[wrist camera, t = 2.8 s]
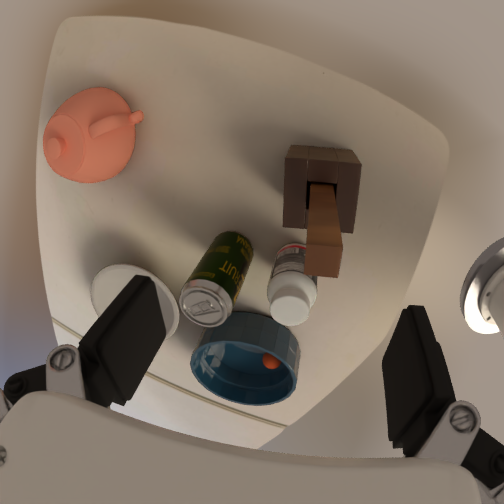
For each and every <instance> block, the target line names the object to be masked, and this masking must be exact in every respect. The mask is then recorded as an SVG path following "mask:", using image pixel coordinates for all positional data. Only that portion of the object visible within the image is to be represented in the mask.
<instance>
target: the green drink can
mask: <svg viewBox="0 0 504 504" xmlns="http://www.w3.org/2000/svg"><path fill="white" fill-rule="evenodd" d="M252 258H253V248H252V245H251V243H250V241H249V240H248V239H247V237H246V236H244V235H243V234H241V233H238V232H235V231H228V232H224V233H221V234H219V235H218V236H217V237H216V238H215V239H214V241H213V242H212V244H211V245H210V247H209V248H208V250H207V251H206V253H205V254H204V256H203V257H202V259H201V260H200V262H199V263H198V265H197V266H196V268H195V269H194V271H193V273H192V274H191V276H190V277H189V279H188V280H187V282H186V283H185V285H184V286H183V288H182V290H181V296H180V298H179V305H180V309H181V310H182V312H183V314H184V315H185V316H186V317H187V318H188V319H189V320H191V321H192V322H194V323H195V324H198V325H201V326H204V327H216V326H219V325H221V324H223V322H224V321H225V320H226V319H227V318H228V317H229V315H230V314H231V312H232V310H233V307H234V305H235V302H236V299H237V297H238V294H239V292H240V289H241V287H242V284H243V282H244V279H245V276H246V274H247V271H248V269H249V266H250V264H251V261H252Z"/></svg>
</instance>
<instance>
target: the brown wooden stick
mask: <svg viewBox="0 0 504 504" xmlns="http://www.w3.org/2000/svg"><path fill="white" fill-rule="evenodd" d="M342 251H343V244H342V237H341V231H340V224H339V218H338V212H337V206H336V200H335V194H334V189H333V183H324V182H313V181H311V185H310V201H309V215H308V228H307V240H306V252H305V263H304V273H303V274H304V275H312V276H322V277H333V278H338V275H339V269H340V263H341V257H342Z"/></svg>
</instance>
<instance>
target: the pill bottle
mask: <svg viewBox="0 0 504 504" xmlns="http://www.w3.org/2000/svg"><path fill="white" fill-rule="evenodd" d="M305 252H306V245H303V244H298V243H292V244H288V245H286V246H284V247H282V248H281V249H280V250H279V251H278V253H277V255H276V257H275V261H274V264H273V268H272V272H271V277H270V280H269V284H268V288H267V296H268V300H269V302H270V314H271V316H272V317H273V319H274V320H275V321H277V322H278V323H280V324H282V325H286V326H296V325H299V324H301V323H303V322H304V321H305V320H306V319H307V318H308V316H309V313H310V308H311V307H312V306H313V304H314V303H315V300H316V297H317V276H312V275H304V274H303V273H304V263H305Z"/></svg>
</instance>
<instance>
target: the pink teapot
mask: <svg viewBox="0 0 504 504" xmlns="http://www.w3.org/2000/svg"><path fill="white" fill-rule="evenodd" d="M143 119H144V114H143V112H142V111H141V110H138V111H136V112H133V113H131V110H130V108H129V106H128V105H127V103H126V102H125V100H124V99H123V98H122V97H121V96H120V95H119V94H117V93H116V92H114V91H113V90H110V89H108V88H104V87H95V88H89V89H86V90H83V91H81V92H79V93H77V94H75V95H73V96H72V97H70V98H69V99H68V100H66V101H65V102H64V103H63V104H62V105H61V106H60V107H59V108H58V109H57V111H56V112H55V113H54V115H53V116H52V117H51V119H50V120H49V122H48V124H47V126H46V128H45V131H44V136H43V149H44V154H45V157H46V160H47V162H48V164H49V166H50V167H51V168H52V170H53V171H54V172H56V173H57V174H59V175H60V176H62V177H64V178H67V179H69V180H72V181H76V182H80V183H96V182H101V181H105V180H107V179H110V178H112V177H114V176H116V175H117V174H118V173H120V172H121V171H122V170H123V168H124V167H125V166H126V164H127V163H128V161H129V159H130V157H131V155H132V152H133V149H134V145H135V124H137V123H139V122H141V121H143Z"/></svg>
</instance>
